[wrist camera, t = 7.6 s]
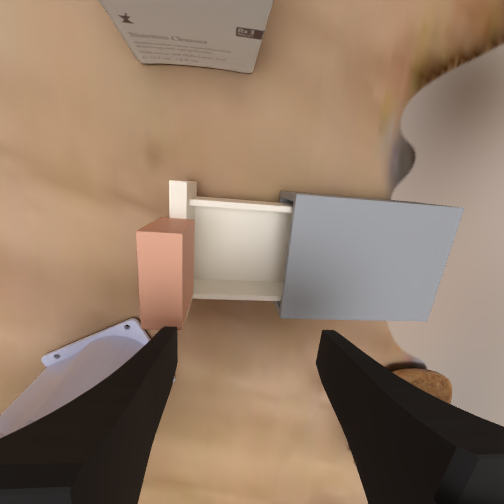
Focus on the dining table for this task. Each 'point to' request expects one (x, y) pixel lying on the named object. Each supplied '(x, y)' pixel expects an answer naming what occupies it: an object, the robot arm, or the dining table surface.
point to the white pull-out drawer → (209, 254)
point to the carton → (364, 257)
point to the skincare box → (192, 31)
